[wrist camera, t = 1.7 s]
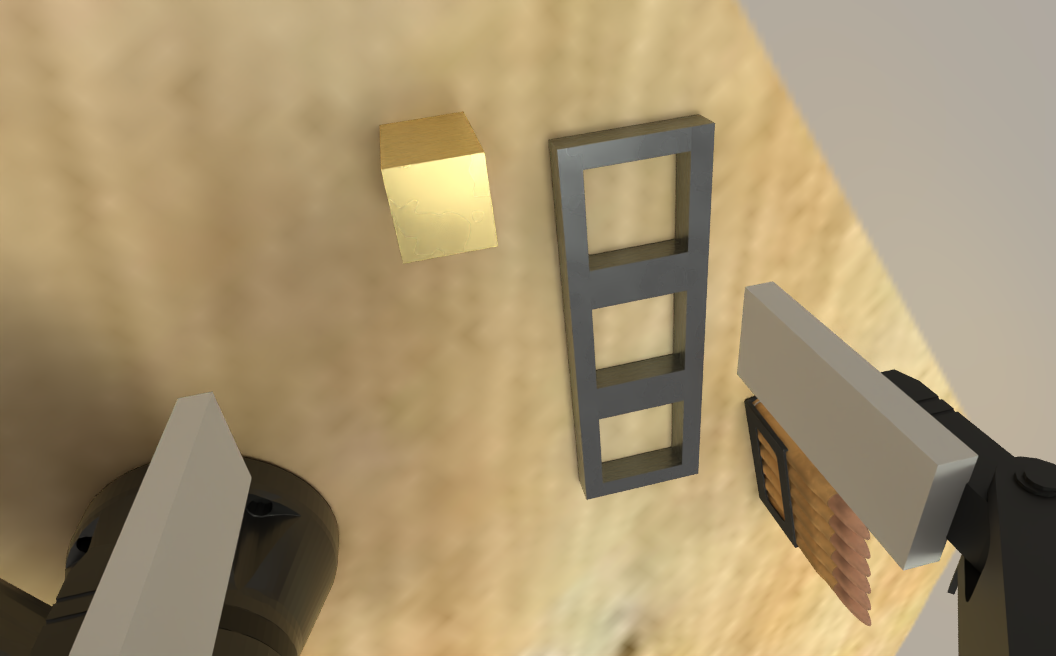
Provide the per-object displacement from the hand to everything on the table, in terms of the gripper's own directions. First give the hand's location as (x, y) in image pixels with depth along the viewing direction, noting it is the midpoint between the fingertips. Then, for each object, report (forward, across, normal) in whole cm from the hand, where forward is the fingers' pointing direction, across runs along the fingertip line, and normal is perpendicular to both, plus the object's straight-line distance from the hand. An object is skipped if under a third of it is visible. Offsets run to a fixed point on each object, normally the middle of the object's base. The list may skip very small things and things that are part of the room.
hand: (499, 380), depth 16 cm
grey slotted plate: (+19, +10, -12) cm, 24 cm away
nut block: (+19, 0, 0) cm, 19 cm away
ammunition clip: (+19, +20, -25) cm, 37 cm away
